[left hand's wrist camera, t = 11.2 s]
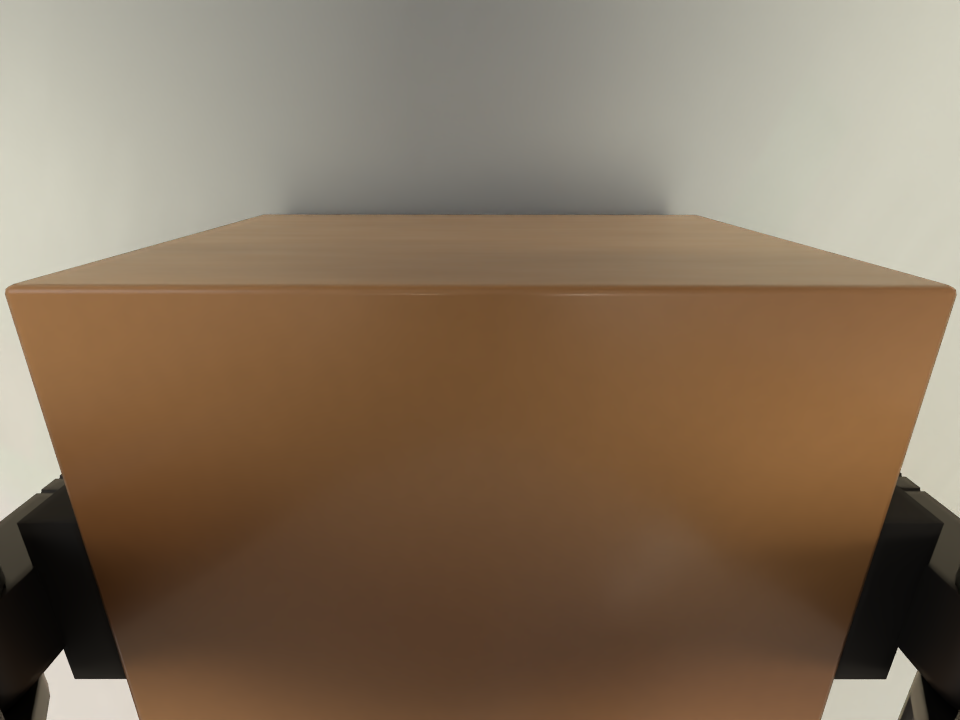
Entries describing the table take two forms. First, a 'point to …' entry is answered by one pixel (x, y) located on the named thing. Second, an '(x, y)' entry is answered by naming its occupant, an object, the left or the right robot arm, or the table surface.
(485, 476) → the wooden beam
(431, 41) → the table surface
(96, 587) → the left robot arm
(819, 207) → the table surface
